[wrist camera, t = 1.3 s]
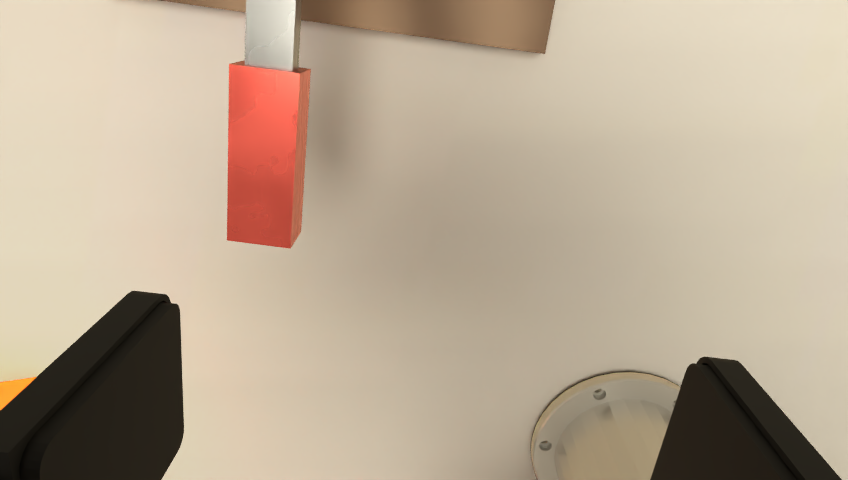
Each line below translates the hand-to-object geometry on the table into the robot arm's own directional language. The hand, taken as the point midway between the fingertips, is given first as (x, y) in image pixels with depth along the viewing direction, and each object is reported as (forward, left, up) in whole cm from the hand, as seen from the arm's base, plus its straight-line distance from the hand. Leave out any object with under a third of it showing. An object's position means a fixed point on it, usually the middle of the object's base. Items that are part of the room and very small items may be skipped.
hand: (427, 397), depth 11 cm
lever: (+7, -5, -16) cm, 18 cm away
